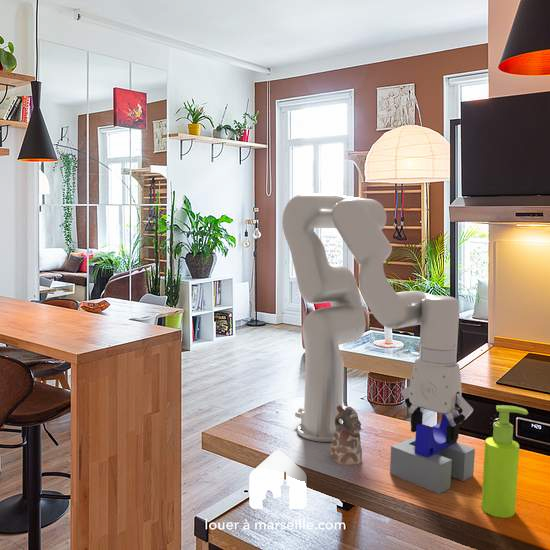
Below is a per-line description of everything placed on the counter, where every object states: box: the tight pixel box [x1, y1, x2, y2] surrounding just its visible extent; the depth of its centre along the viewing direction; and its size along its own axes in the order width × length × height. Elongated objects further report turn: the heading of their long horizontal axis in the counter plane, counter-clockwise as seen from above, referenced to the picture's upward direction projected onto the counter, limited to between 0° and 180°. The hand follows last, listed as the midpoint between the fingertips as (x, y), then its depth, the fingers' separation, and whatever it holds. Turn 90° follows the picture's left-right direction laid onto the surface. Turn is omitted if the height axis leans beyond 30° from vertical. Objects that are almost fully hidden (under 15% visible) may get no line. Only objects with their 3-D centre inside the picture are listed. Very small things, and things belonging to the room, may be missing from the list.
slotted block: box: [389, 435, 476, 495], centre depth 124 cm, size 12×13×6 cm
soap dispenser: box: [480, 404, 529, 519], centre depth 108 cm, size 6×7×20 cm
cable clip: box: [415, 414, 458, 458], centre depth 123 cm, size 12×4×6 cm, turn 135°
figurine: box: [329, 405, 363, 466], centre depth 131 cm, size 7×7×12 cm
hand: (433, 436), depth 123 cm, fingers open, 8 cm apart
